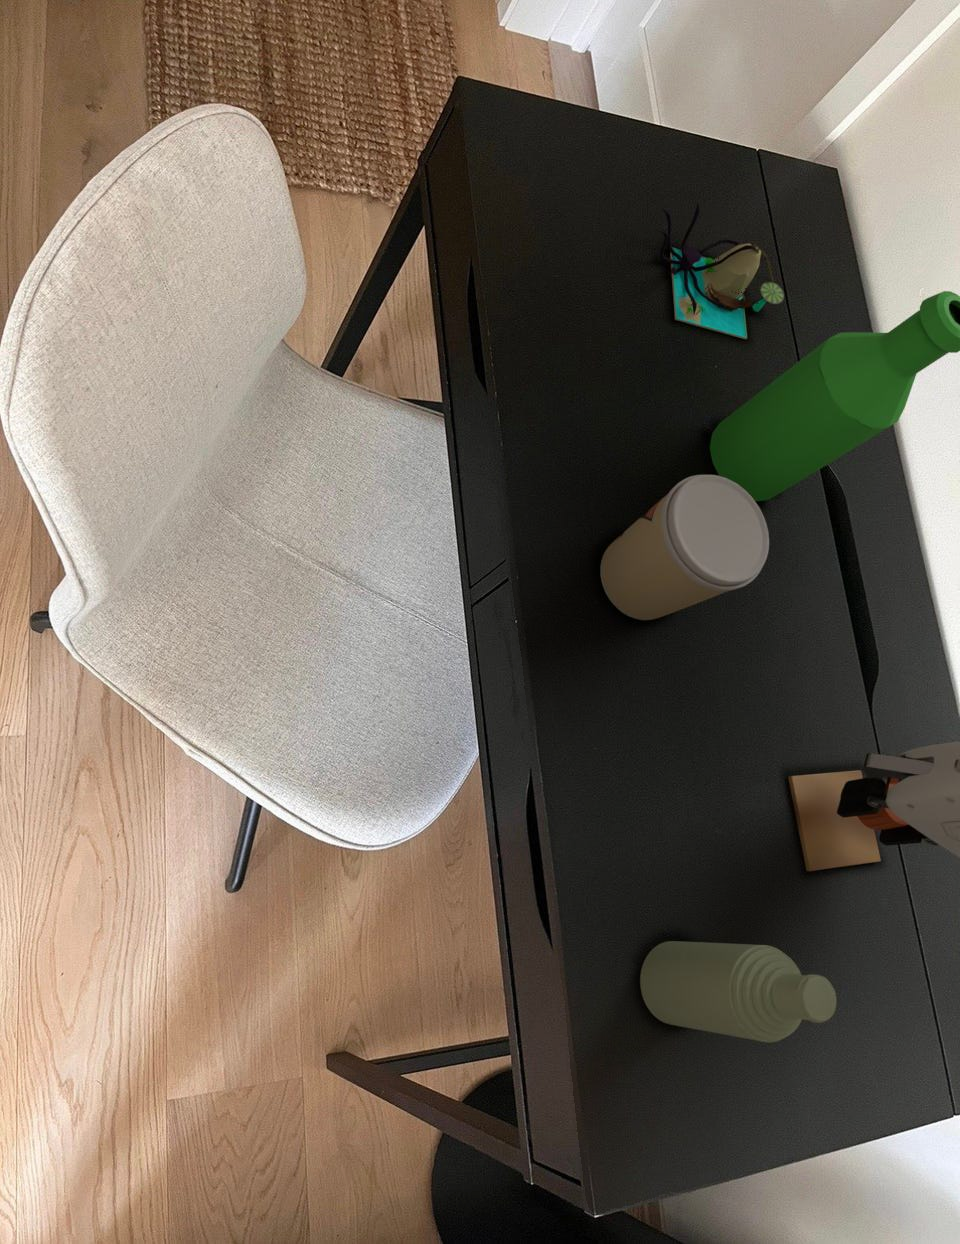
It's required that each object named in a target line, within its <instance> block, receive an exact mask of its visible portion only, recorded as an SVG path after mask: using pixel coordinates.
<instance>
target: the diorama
mask: <svg viewBox="0 0 960 1244" xmlns="http://www.w3.org/2000/svg"><path fill="white" fill-rule="evenodd" d="M700 207H701V206H700V204H699V202H698V201H697V203H696V208H695V211H694V216H693V218H692V219H691V222H690V224H689V227H688V228H687V230H686V233H685V235H684V238H683V239H682V243H681V246H680V248H676V247H674V246H672V240H671V239H672V237H671V236H672V216H671V214H670V213H669V212H668V211H667V210H665V209H662V211H663V212H664V214H665V216H666V220H667V231H663V230H662V231H661V230H660V231H659V233H661V234H662V235H663V237H664V241H663V245H662V247H661V249H660V259H661V261H663V262H665V263H668V264H670V271H669V274H668V276H671V281H672V282H671V283H672V284H671V285H672V296H673V297H672V298H673V312H674V313H673V314H674V320H675V321H678V322H682V323H685V324H689V325H691V326H692V325H693V326H695V327H699V328H703V329H707V330H709V331H714V332H716V333H717V332H718V333H721V334H725V335H728V336H732V337H736V338H740V339H743V340H747V339H748V332H747V331H748V329H747V321H746V311H745V309H746V308H750V307H752V310H753V311H754V312H756V313H758V312H760V311H761V309H762V308H763V307H764V305H765V304H766V302H768V303H769V304H773V305H778V304H781V303H783V301H784V298H785V294H784V291H783V289H782V288H781V286H780V285H778V283H775V278H774V274H773V269H772V265H771V261H770V258H768V254H767V253H766V252H765V251H764V250H763V249H762V248H761V247H760V246H758V244H757V243H756V242H753V243H752V244H751V243H749V242H748V243H742V244H741V243H740V242H739V241H738V240H737V241H736V240H732V239H727V238H726V239H719V240H717V241H716V242H714V243H711V244H709V245H707V246H706V247H705V246H704V248H703V250H702V249H701V250H700V251H698V250H696V249H695V248H694V247H692V246H689V247H688V248H686V245H687V241H688V239H689V236H690V234H691V233H692V230H693V228H694V226H695V225H696V222H697V220H698V217H699V216H700V212H701V208H700ZM723 243H725V244H726V243H727V244H731V245H734V247H732V248H731V249H728V251H726V252H724V253H722V254H721V255H719V256H718V257H719V259H718V257H716V258H714V259H713V258H711V257H706V256H703V254H704V253H706V252H707V251H709V250H711V249H713V248H715V247H717V246H719V245H720V244H723ZM666 246H667V248H668V251H669V255H670V258H669V257H666V256H665V253H664V252H665V249H666ZM761 257H764V258H761ZM715 261H716V262H715ZM763 261H765V262H766V266H767V270H768V275H769V278H768V277H766V276H762V275H760V274H757V271H758V269H759V267H760V263H761V262H763ZM711 268H712V269H711ZM715 271H716V272H715ZM754 278H757V279H761V280H764V281H766V282H763V284H761V286H760V295H761V296H762V298H761V300H759V301H756V303H754V304H753V300H750V301H747V299H746V296H745V291H746V289H748V287H749V285H750V283H751V282H752V281H753V279H754ZM745 288H746V289H745ZM732 291H733V292H732ZM735 292H736V293H735ZM741 292H742V293H741ZM738 293H739V294H738ZM741 299H742V300H741ZM757 303H758V304H757ZM749 306H750V307H749Z"/></svg>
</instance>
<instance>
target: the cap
mask: <svg viewBox="0 0 960 1244" xmlns="http://www.w3.org/2000/svg"><path fill="white" fill-rule="evenodd" d="M894 785H895V784H889V788H888V790H889V789H890V788H891V787H892V786H894ZM887 793H888V792H887ZM857 817H858V818H859V820H860V821H861V822H862V823H863V824H864V825H865V826H866V827H868V828H870V829H873V830H874V831H881V830H882V829H883V830H885V829H891V828H897V827H902V826H905V825H909V824H907V823H906V822H905V821H903V820H902V819H900V818H899V817H898V816H896V815H895V814H894V813H893V812H892V811H891V810H890V808H879V811H878V812H877V814H870V815H862V816H857Z"/></svg>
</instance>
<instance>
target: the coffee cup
mask: <svg viewBox="0 0 960 1244" xmlns="http://www.w3.org/2000/svg"><path fill="white" fill-rule="evenodd" d="M769 549H770V535H769V529H768V525H767V522H766V519H765V516H764V515H763V512H762V510H761V508H760V506H759V505H758V504H757V501H754V499H753V498H752V497H751V496H750V495H749V494H748V493H747V492H746V491H745V490H744V489H743V488H742V487H741V486H739V485H738V484H736V483H735V482H733V481H731V480H729V479H727V478H724V477H721V476H719V475H718V474H717V475H716V474H696V475H691V476H688V477H686V478H684V479H682V480H681V481H679V482H677V484H675V485H674V486H673V487H672V488H671V489H670V491H669V492H668V493H667V494H665V496H664V497H662V498H661V499H660V500H659V501H658V502H656V503H655V504H654V505H653V506H652V507H650V509H648V511H646V512H645V513H644V514H643V515H642V516H641V517H639V518H638V519H637V520H636V521H635V522H634V523H632V524H631V525H630V526H629V527H628V528H627V529H626V530H625V531H623V532H622V533H621V534H620V535H619V536H618V537H616V539H614V540H613V541H612V542H611V543H610V545H608V547H607V548H606V549H605V551H604V553H603V555H602V558H601V561H600V569H599V571H600V573H599V574H600V580H601V584H602V588H603V590H604V592H605V594H606V596H607V598H608V599H609V601H610V602H611V603H612V605H613V606H614V607H616V609H617V610H619V611H620V612H621V613H622V614H624V615H626V616H628V617H630V618H632V619H635V620H641V621H652V620H656V619H659V618H661V617H665V616H668V615H670V614H673V613H676V612H679V611H681V610H683V609H686V608H688V607H691V606H694V605H697V604H700V603H702V602H704V601H707V600H710V599H712V598H715V597H717V596H720V595H722V594H725V593H727V592H731V591H734V590H738V589H741V588H744V587H746V586H747V585H748V584H750V583H752V582H753V581H754V580H755V579H756V578H757V577H758V575H759V574H760V573H761V571H762V569H763V567H764V565H765V563H766V560H767V558H768V556H769Z"/></svg>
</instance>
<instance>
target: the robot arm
mask: <svg viewBox="0 0 960 1244" xmlns="http://www.w3.org/2000/svg"><path fill="white" fill-rule="evenodd" d="M862 770H863V773H864V775H865V777H863V778H862V779H856V780H850V781H847V782H846V783H845V785H844V788H843V789H842V792H841V796H840V798H841V799H840V802H839V806H838V809H837V814H838V815H840V816H841V817H843V818H844V817H854V816H862V815H870V814H877V812H878V811H879V808H890V810H891V811H892V812H893V813H894V814H895V815H896V816H898V817H899V818H900V819H902V820H903V821H905V822H906V823H907V824H909V825H905V826H902V827H897V828H891V829H885V830H883V829H882V830H880V833H879V837H878V840H879V842H880V843H881V844H882V845H884V846H886V847H887V846H899V845H901V846H902V845H912V844H922V841H923V842H924V843H925V844H928V845H930V846H934V847H937V846H940V847H942V848H944V849H945V850H947V851H948V852H950V853H951V854H953V855H954V856H956V857H958V858H960V741H953V742H945V743H937V744H932V745H926V746H920V747H916V748H912V749H908V750H906V751H904V752H901V753H900V754H898V755H896V756H894V755H889V754H888V755H886V754H881V753H873V752H868V753H866V755H865V759H864V762H863V766H862ZM889 784H895V785H894V786H892V787H891V788H890V789H889V790H888V788H889ZM887 792H888V793H887Z"/></svg>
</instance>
